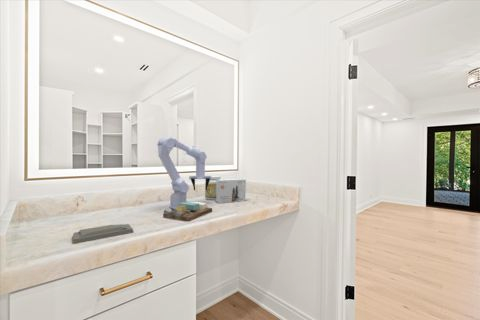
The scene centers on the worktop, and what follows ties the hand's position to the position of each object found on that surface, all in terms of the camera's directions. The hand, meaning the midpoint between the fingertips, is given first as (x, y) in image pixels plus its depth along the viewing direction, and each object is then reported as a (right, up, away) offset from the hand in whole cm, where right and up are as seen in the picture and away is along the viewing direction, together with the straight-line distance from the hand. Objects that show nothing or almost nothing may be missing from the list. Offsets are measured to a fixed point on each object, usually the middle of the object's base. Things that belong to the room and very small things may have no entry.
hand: (200, 189), depth 147 cm
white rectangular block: (+2, -8, -19) cm, 21 cm away
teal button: (-1, -6, -27) cm, 28 cm away
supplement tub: (+6, -9, +19) cm, 22 cm away
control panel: (-1, -10, -27) cm, 29 cm away
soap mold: (-28, -11, -58) cm, 66 cm away
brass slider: (-3, -7, -34) cm, 35 cm away
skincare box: (+20, -10, +8) cm, 24 cm away
